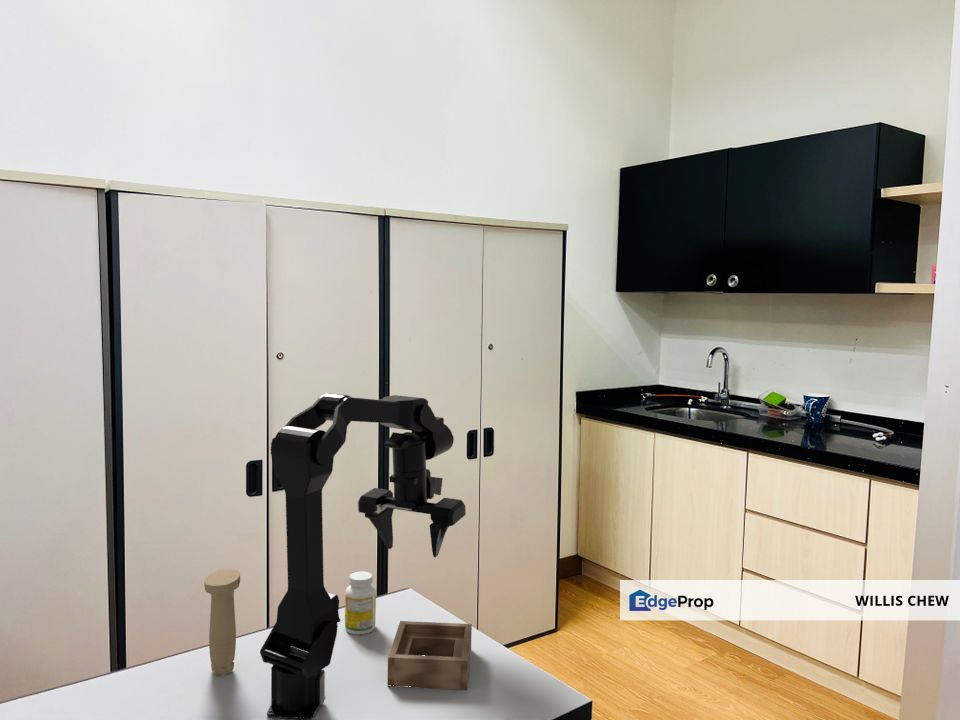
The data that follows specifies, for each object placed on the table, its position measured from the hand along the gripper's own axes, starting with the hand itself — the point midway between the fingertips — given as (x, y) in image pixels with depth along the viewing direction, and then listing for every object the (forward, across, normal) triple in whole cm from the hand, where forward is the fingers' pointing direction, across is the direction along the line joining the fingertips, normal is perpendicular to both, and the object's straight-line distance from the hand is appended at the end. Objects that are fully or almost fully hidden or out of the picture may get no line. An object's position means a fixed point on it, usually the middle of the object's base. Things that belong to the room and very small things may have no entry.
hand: (412, 552), depth 121 cm
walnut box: (+13, -10, +12) cm, 20 cm away
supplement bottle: (+13, +8, +6) cm, 17 cm away
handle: (+11, +19, +27) cm, 35 cm away
